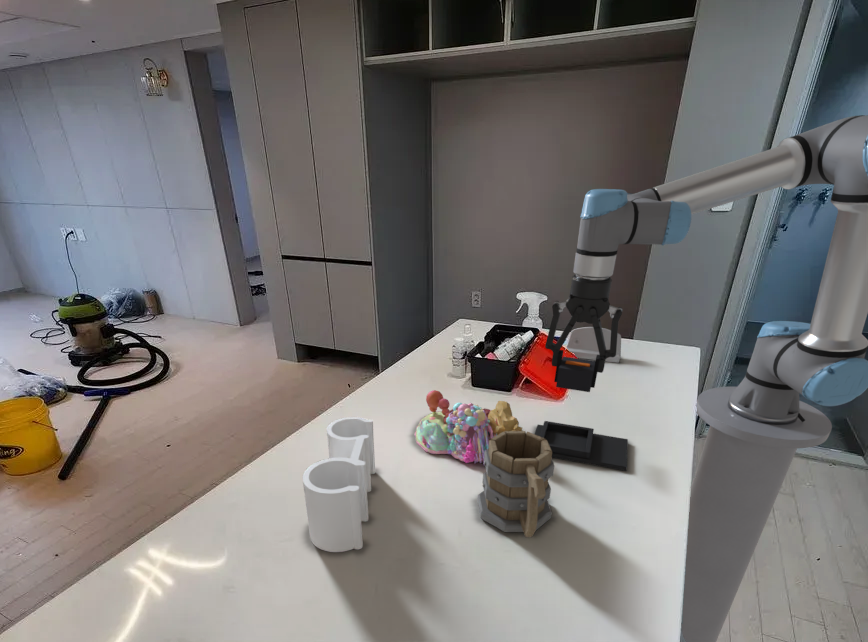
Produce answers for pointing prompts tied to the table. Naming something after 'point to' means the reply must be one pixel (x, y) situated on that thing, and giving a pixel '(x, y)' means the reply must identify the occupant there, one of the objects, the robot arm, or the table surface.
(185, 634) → the table surface
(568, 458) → the base pad
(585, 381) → the black orange striped block
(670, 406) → the table surface
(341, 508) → the bracket
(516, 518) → the tankard
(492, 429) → the candy landscape model
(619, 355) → the grey upright panel
